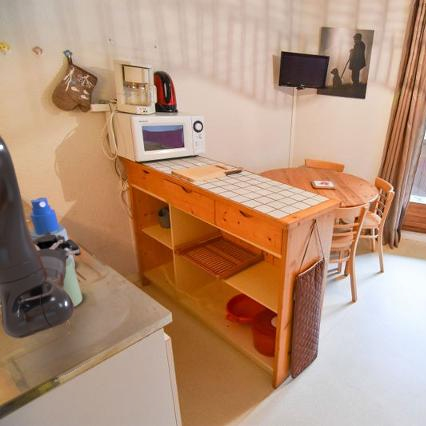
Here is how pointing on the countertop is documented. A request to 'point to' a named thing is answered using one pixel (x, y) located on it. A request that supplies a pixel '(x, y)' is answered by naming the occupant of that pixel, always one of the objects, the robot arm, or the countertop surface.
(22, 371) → the countertop surface
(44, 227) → the spray bottle
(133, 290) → the countertop surface
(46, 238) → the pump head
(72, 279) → the dispenser
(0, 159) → the robot arm
